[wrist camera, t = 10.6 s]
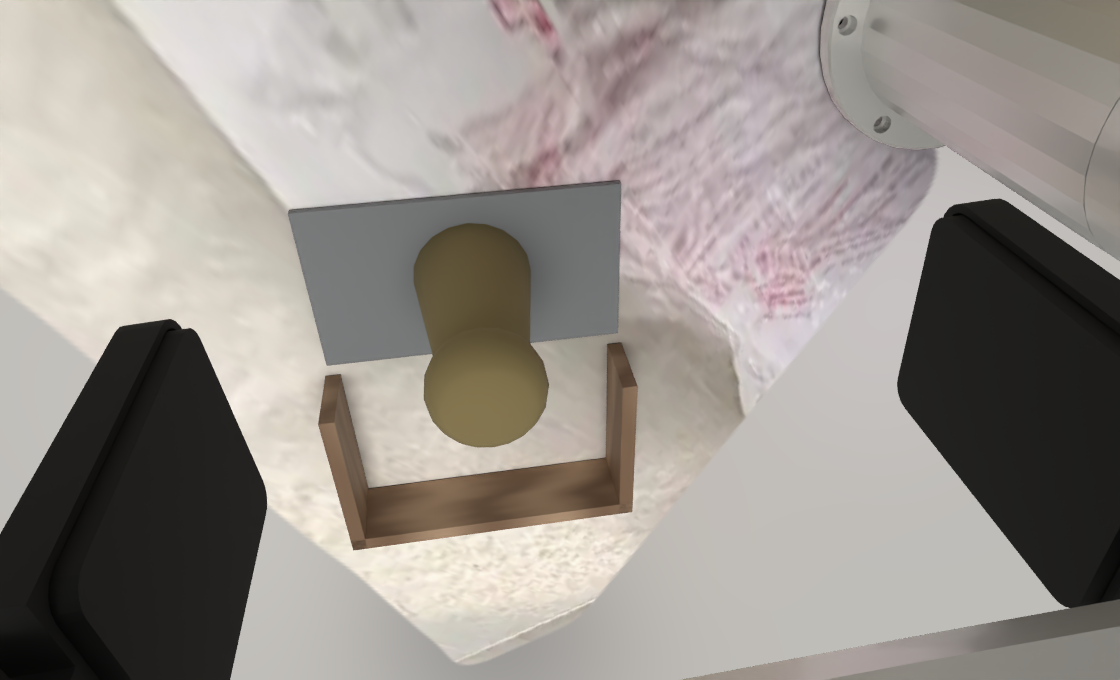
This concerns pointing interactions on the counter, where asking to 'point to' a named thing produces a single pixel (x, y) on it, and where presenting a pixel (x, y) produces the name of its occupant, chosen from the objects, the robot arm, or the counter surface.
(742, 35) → the counter surface
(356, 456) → the wooden u-shaped frame
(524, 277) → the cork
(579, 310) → the charcoal mat
